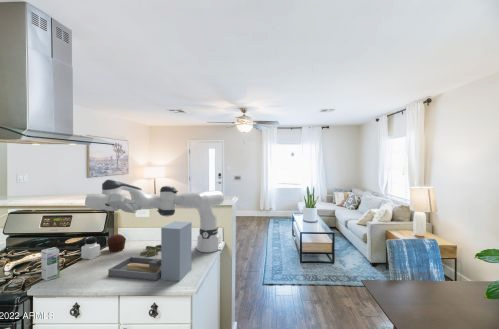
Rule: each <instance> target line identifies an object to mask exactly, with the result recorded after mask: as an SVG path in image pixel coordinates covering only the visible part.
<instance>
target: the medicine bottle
mask: <svg viewBox="0 0 499 329" xmlns="http://www.w3.org/2000/svg"><path fill="white" fill-rule="evenodd" d="M97 241H98V240H97V237H95V236H88V237H86V238H85V239H84V245H82V246H81V248H80V249H81V252H80V253H81V254H80V255H81V257H80V258H81V259H86V260H92V259H95V258H98V257H100V256H101V245H100V244H99V243H97Z"/></svg>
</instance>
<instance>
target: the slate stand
mask: <svg viewBox="0 0 499 329" xmlns="http://www.w3.org/2000/svg"><path fill="white" fill-rule="evenodd" d="M192 228H193V227H192V221H176V220H175V221H173V222H171V223H169V224H166V225H164V226H163V227H161V229H160V230H161V231H160V232H161V238H160V239H161V240H160V243H161V244H160V245H161V251H160V253H161V254H160V256H161V257H160V259H161V278H160V279H161V280H163V281H164V280H165V281H172V282H181V281H183V279H184V278H185V277H186V275H187V274H188V273H190V272H191V271H192V240H193V239H192V232H193V230H192ZM187 276H188V275H187Z"/></svg>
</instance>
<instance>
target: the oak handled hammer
mask: <svg viewBox="0 0 499 329" xmlns="http://www.w3.org/2000/svg"><path fill="white" fill-rule="evenodd" d="M160 265H161V258H153V260H152V261H150V262H149V264H138V263H129V264H128V265H127V270H136V271H147V272H158V271H159V270H160Z"/></svg>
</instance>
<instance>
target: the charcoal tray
mask: <svg viewBox="0 0 499 329" xmlns="http://www.w3.org/2000/svg"><path fill="white" fill-rule="evenodd" d="M153 259H154V258H151V257H137V256H129V257H128V258H125V259H124V260H122V261H121V262H119V263H117V264H116V265H113V266H112V267H110V268H109V269H107V270H108V271H107V272H108V277H111V278H112V277H114V278H122V279H132V280H133V279H134V280H141V281H152V282H157V281H158V280H160V279H161V265H160V270H159V271H158V272H147V271H136V270H127V265H128V264H129V263H138V264H149V262H150V261H152V260H153Z"/></svg>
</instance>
